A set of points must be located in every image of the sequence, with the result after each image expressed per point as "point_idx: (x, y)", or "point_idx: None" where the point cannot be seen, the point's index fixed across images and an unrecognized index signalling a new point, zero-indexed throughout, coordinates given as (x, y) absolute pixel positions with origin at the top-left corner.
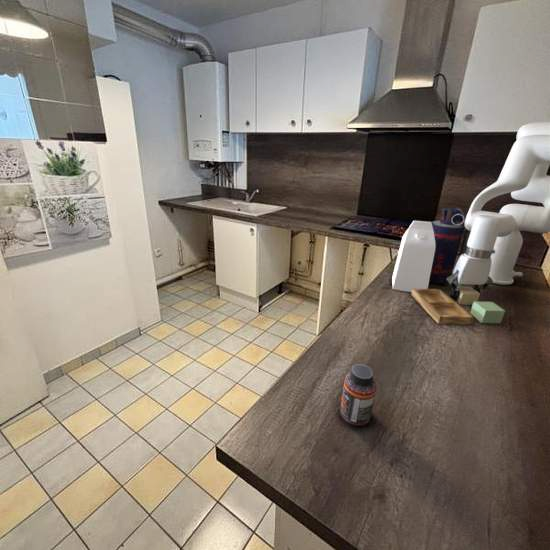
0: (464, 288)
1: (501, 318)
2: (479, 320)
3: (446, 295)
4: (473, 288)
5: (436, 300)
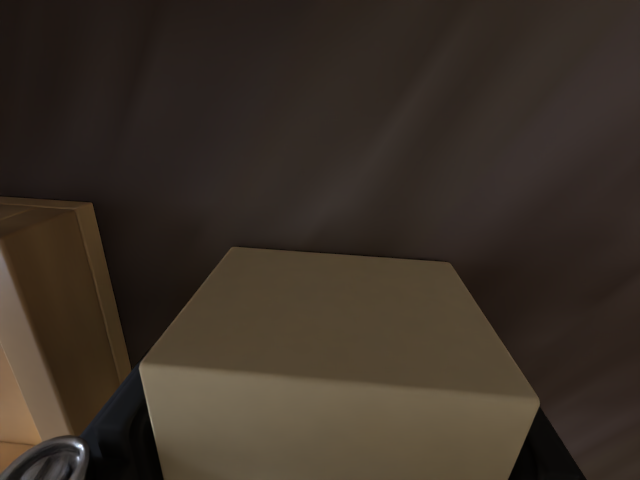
0: (316, 471)
1: None
2: None
3: (44, 422)
4: (535, 466)
5: (5, 358)
